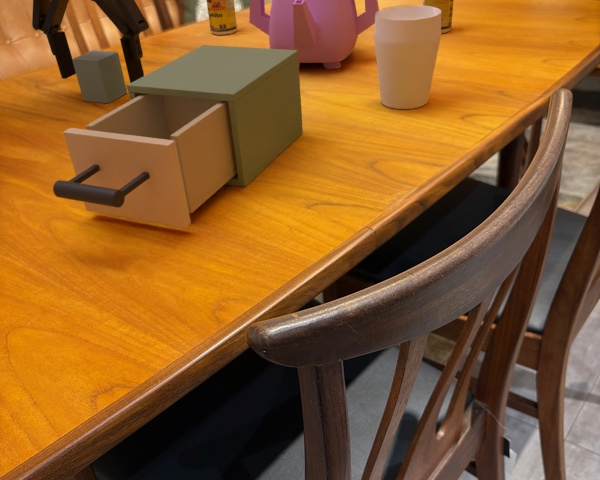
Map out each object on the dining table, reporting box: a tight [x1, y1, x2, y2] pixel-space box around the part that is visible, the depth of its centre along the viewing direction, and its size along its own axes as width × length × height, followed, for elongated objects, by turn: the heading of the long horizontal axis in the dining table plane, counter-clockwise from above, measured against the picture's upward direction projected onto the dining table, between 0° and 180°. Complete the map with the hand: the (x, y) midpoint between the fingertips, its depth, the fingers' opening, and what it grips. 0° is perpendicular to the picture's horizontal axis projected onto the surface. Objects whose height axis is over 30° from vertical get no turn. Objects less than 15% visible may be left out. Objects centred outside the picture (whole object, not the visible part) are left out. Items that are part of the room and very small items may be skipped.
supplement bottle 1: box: [206, 0, 238, 36], centre depth 126 cm, size 6×6×10 cm
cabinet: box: [126, 44, 304, 188], centre depth 75 cm, size 17×14×11 cm
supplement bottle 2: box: [422, 0, 455, 34], centre depth 116 cm, size 6×6×10 cm
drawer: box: [52, 93, 237, 230], centre depth 64 cm, size 21×12×9 cm, turn 156°
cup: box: [373, 4, 442, 110], centre depth 85 cm, size 9×9×12 cm
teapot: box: [248, 0, 380, 70], centre depth 104 cm, size 19×18×15 cm
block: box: [72, 49, 128, 104], centre depth 97 cm, size 5×5×6 cm
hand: (102, 78), depth 97 cm, fingers open, 13 cm apart
